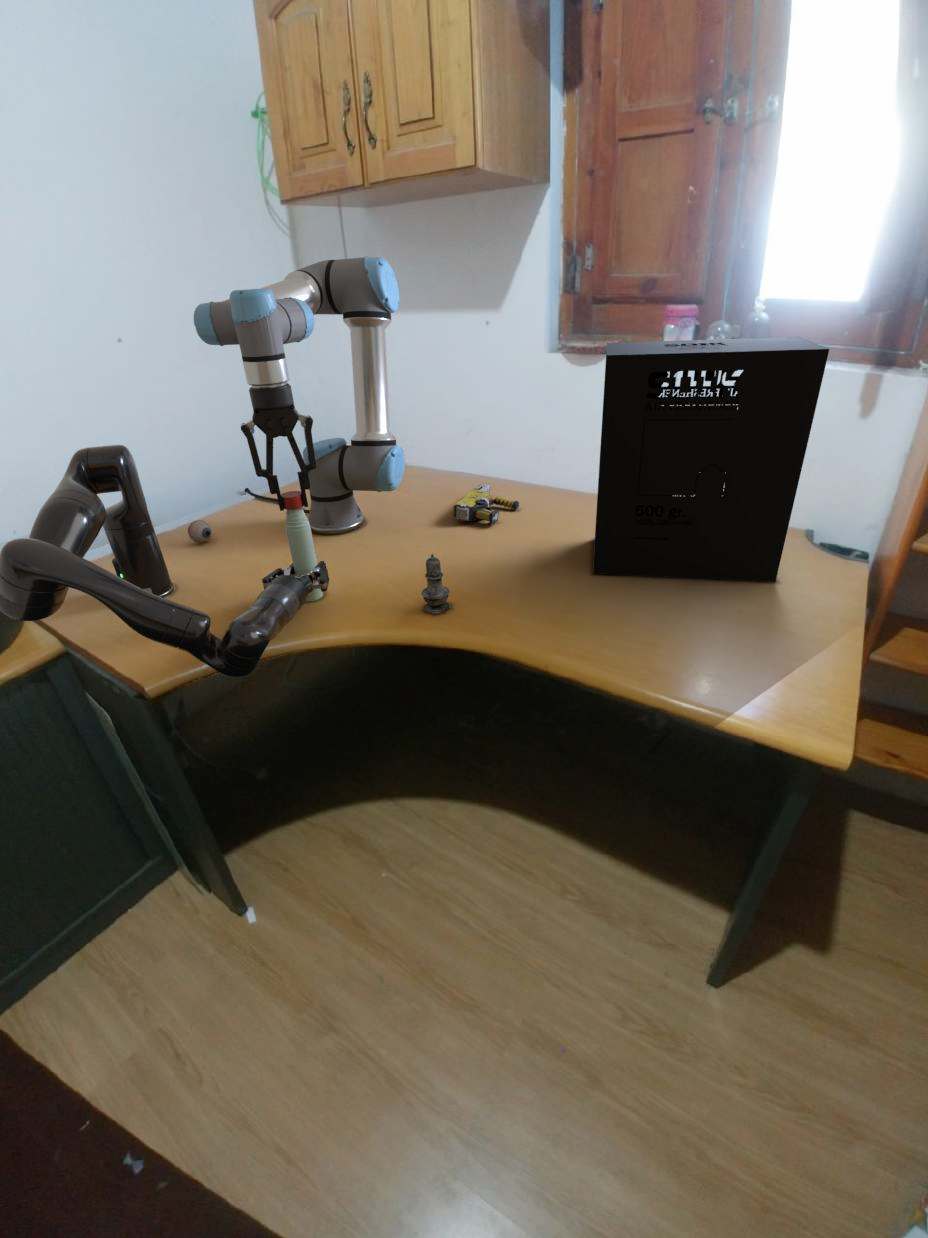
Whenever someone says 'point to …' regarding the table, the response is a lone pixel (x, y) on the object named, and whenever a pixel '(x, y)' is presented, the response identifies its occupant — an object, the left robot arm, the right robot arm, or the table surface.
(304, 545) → the bottle
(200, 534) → the eyeball
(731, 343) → the cardboard box
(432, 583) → the grey tiered upright piece
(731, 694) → the table surface
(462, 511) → the toy gun
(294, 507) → the cap
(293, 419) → the right robot arm
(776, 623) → the table surface
